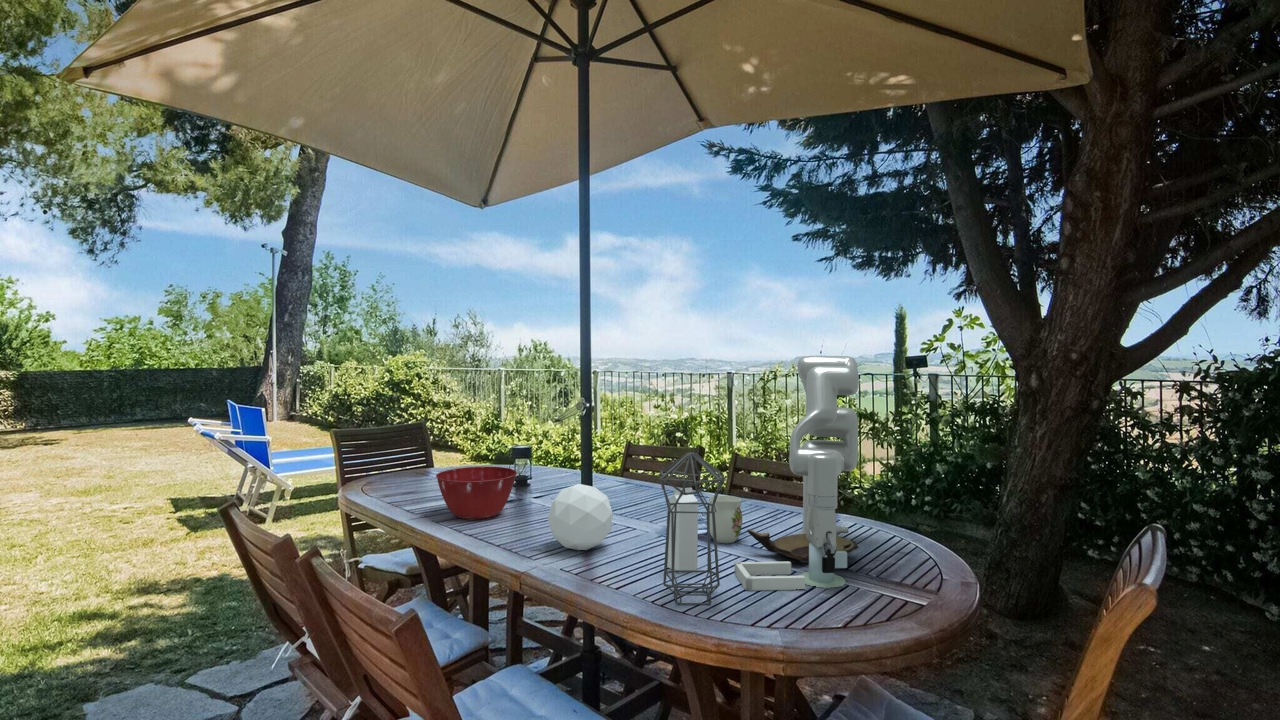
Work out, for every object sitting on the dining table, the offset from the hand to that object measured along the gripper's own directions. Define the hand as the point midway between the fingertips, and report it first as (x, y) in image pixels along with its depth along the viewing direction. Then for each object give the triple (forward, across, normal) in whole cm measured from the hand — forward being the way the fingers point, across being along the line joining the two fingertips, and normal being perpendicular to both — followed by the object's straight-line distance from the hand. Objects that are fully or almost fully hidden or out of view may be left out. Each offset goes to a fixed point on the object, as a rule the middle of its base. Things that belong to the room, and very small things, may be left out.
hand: (821, 566), depth 171 cm
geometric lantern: (+4, +10, -36) cm, 38 cm away
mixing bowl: (+4, -74, -101) cm, 125 cm away
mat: (+4, 0, 0) cm, 4 cm away
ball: (+4, -32, -63) cm, 71 cm away
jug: (+3, 0, +2) cm, 4 cm away
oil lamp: (+4, -20, +2) cm, 20 cm away
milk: (+4, -11, -35) cm, 37 cm away
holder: (+4, 0, -14) cm, 14 cm away
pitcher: (+4, -39, -17) cm, 43 cm away
